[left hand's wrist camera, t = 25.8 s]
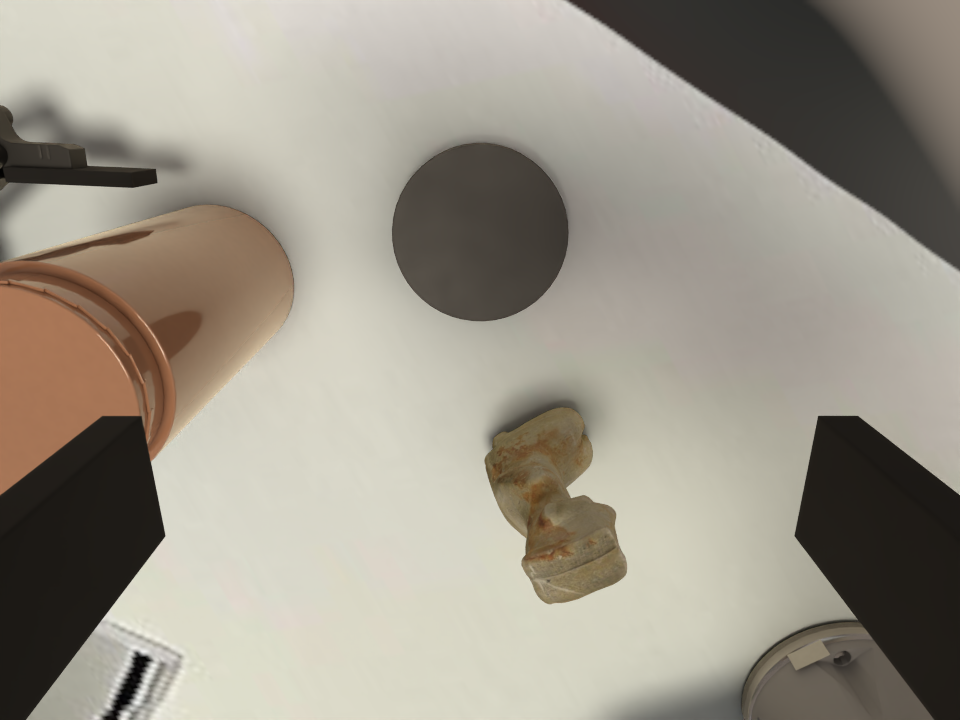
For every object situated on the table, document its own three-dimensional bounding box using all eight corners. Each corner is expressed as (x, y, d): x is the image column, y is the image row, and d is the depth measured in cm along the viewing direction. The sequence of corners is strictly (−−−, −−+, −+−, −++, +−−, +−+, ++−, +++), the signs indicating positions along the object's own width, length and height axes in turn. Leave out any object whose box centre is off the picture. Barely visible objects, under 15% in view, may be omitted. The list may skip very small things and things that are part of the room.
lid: (362, 235, 41) (356, 242, 39) (474, 104, 39) (474, 103, 37) (484, 343, 44) (485, 354, 42) (598, 225, 41) (605, 231, 39)
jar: (324, 280, 42) (204, 402, 24) (233, 378, 45) (60, 559, 26) (202, 170, 40) (-35, 212, 22) (113, 281, 42) (-170, 404, 24)
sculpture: (596, 459, 47) (647, 604, 33) (502, 488, 48) (512, 642, 34) (572, 388, 45) (615, 511, 31) (475, 421, 46) (473, 554, 32)
